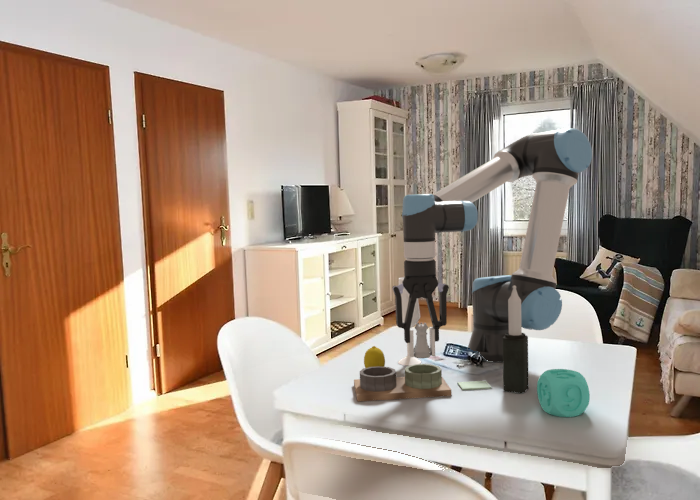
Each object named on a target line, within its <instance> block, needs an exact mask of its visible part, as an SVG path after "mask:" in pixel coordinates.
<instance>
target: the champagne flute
mask: <svg viewBox="0 0 700 500" xmlns="http://www.w3.org/2000/svg"><path fill="white" fill-rule="evenodd" d="M403 280H404V276H402V277H398V281H397V282H398V284H397V286H398V285H400V284H402V283H403ZM409 295H410V294H409V293H408V292H407V290H406V289H405V288H403V293H402V294H401V298H402V321H403V322H405V317H406V312H407V307H408V302H409ZM419 303H420V301H419V298H417V299H416V303H415V307H414V312H413V317H412V322H411V327H410V328H412V329H413V328H415V326H416V323H419V321H420V319H421V310H420V304H419ZM406 347H407V348H406V351H407V355H406V356H405V357H403V358H401V359H400V360H399V361H397V363H398V364H399V365H402V366H407V367H408V366H411V365H415V364H422V361H421V360H420V359H419V358H416V357H410V355H409V343H406Z"/></svg>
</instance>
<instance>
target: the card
mask: <svg viewBox="0 0 700 500" xmlns="http://www.w3.org/2000/svg"><path fill="white" fill-rule="evenodd" d="M457 385H458V386H459V388H461V390H462V391H471V390H473V391H475V390H477V391H478V390H489V389H491V390H492V386H491V384H489V383H488V382H487V381H486V380H474V381H472V380H471V381H460V382H459V381H457Z"/></svg>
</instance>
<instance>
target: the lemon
mask: <svg viewBox="0 0 700 500" xmlns="http://www.w3.org/2000/svg"><path fill="white" fill-rule="evenodd" d="M363 365H364V368H368V367H378V366H382V367H386V366H385V365H386V359H385V355H384V352H383V350H381V349H380V348H379V347H377V346H375V345H374V346H371V347H369V348H368V349H367V350H366V351H365V354H364V356H363Z"/></svg>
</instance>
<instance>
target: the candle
mask: <svg viewBox="0 0 700 500" xmlns="http://www.w3.org/2000/svg"><path fill="white" fill-rule="evenodd" d="M508 319H509V332H507V333H506V334H505V336H504V337H503V362H502V371H503V372H502V378H503V379H502V380H503V381H502V384H503V388H502V389H503V391H504V392H506V393H512V394H513V393H515V394H525V393H526V392H527V390H529V388H530V387H529V336H528V335H526V333H525V332H522V330H523V329H522V328H523V327H521V299H520V298H519V296H518V294H517V291H516V286H515V285H514V286H513V290H512V294H511V296H510V298H509V299H508Z"/></svg>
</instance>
